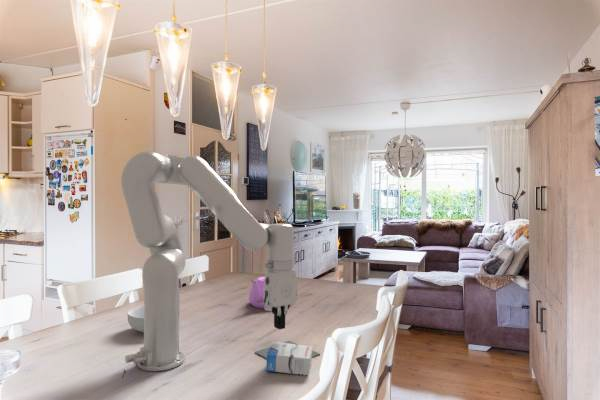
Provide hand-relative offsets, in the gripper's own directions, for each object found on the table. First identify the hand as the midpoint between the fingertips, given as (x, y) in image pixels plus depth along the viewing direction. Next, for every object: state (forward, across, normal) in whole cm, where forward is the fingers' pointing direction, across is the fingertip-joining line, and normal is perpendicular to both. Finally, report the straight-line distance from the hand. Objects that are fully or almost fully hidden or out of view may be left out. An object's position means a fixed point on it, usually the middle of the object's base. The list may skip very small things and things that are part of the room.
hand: (279, 327), depth 114 cm
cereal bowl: (+9, -18, +48) cm, 52 cm away
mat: (+9, +4, +1) cm, 10 cm away
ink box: (+6, -6, -2) cm, 9 cm away
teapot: (+9, +33, +48) cm, 59 cm away
